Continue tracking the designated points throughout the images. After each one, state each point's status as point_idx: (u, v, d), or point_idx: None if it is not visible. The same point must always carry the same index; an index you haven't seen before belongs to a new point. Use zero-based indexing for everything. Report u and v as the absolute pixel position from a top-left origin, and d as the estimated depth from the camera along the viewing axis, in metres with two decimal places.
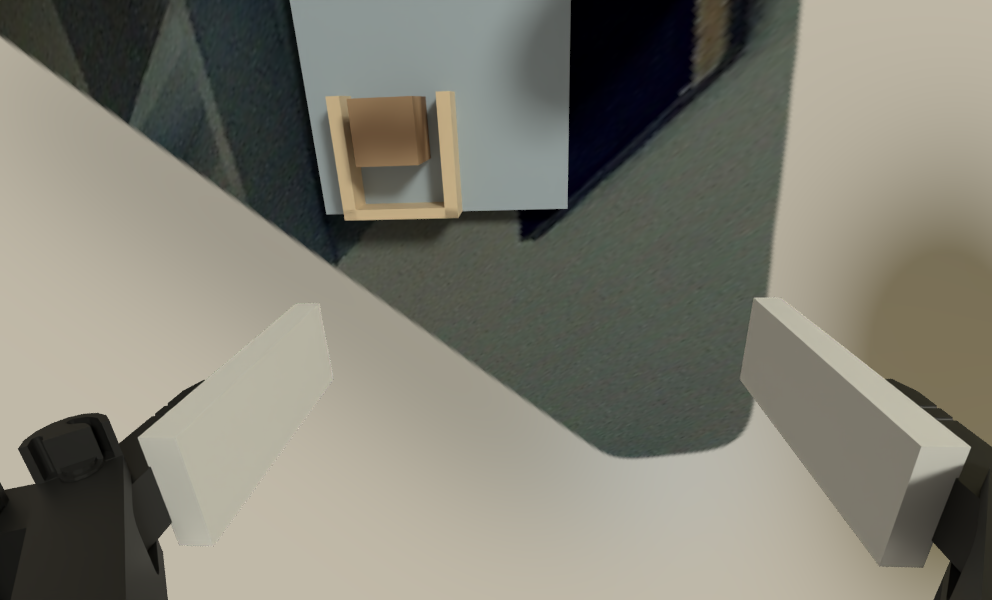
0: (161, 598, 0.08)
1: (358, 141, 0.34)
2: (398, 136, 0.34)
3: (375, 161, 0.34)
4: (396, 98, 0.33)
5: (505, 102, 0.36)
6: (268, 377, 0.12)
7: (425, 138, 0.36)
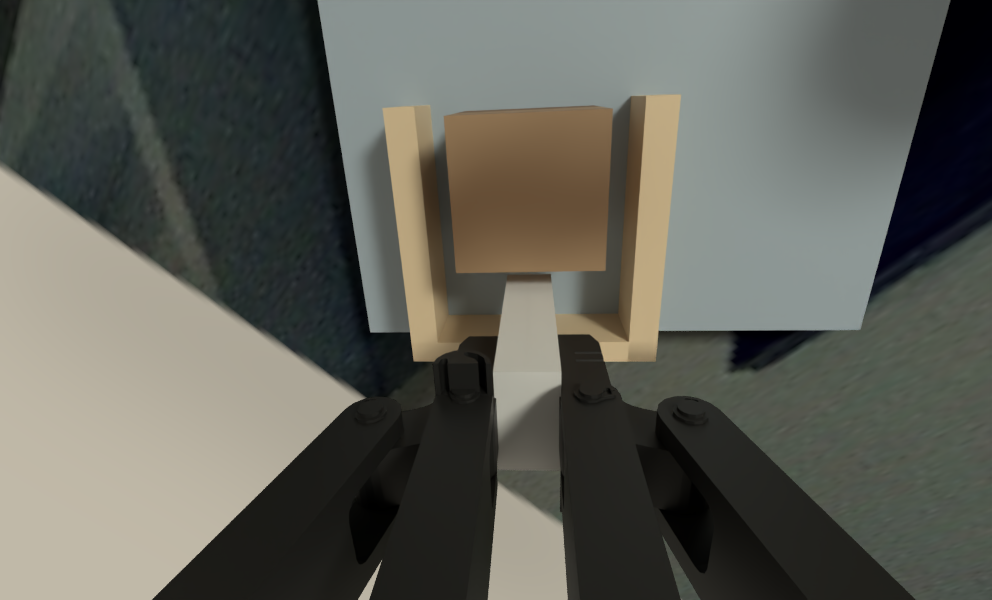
0: (491, 530, 0.09)
1: (466, 216, 0.14)
2: (565, 205, 0.14)
3: (502, 262, 0.15)
4: (572, 115, 0.13)
5: (772, 118, 0.17)
6: None
7: None
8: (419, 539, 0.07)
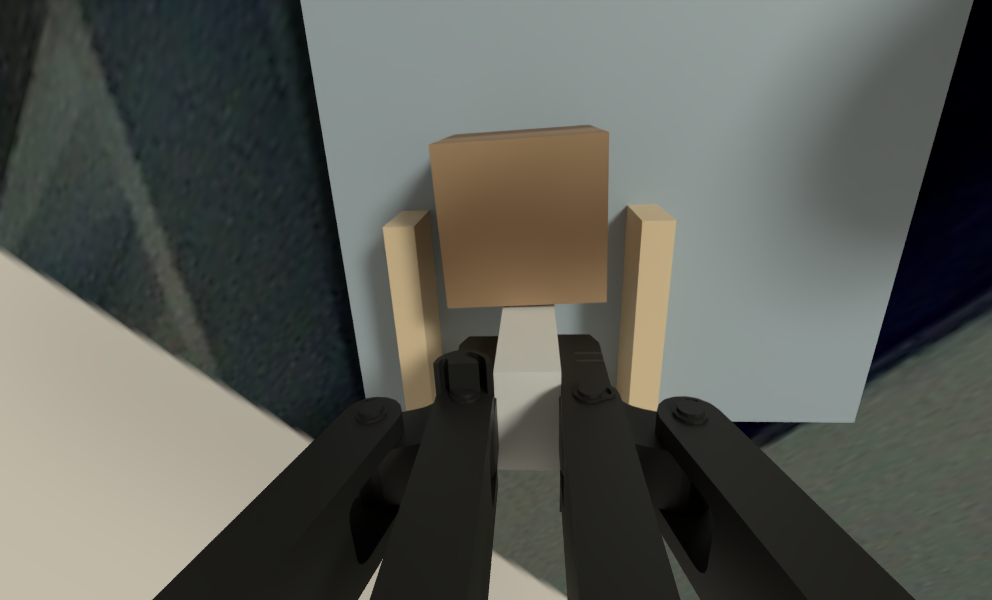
0: (491, 531, 0.09)
1: (456, 249, 0.13)
2: (561, 234, 0.13)
3: (496, 296, 0.14)
4: (566, 140, 0.12)
5: (765, 227, 0.17)
6: None
7: None
8: (419, 539, 0.07)
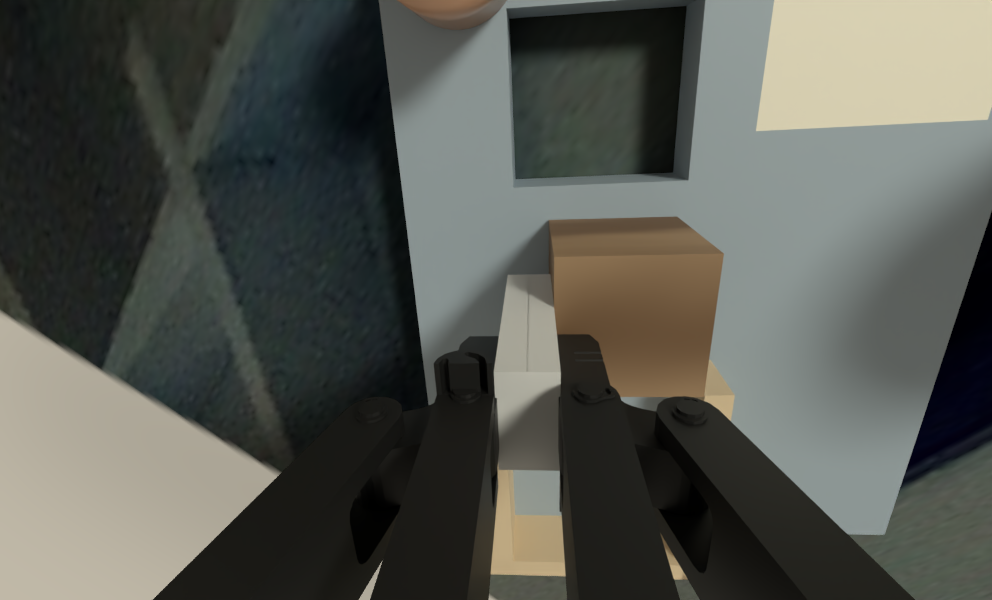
0: (491, 531, 0.09)
1: None
2: (668, 338, 0.14)
3: None
4: (683, 258, 0.13)
5: (807, 379, 0.19)
6: None
7: None
8: (420, 539, 0.07)
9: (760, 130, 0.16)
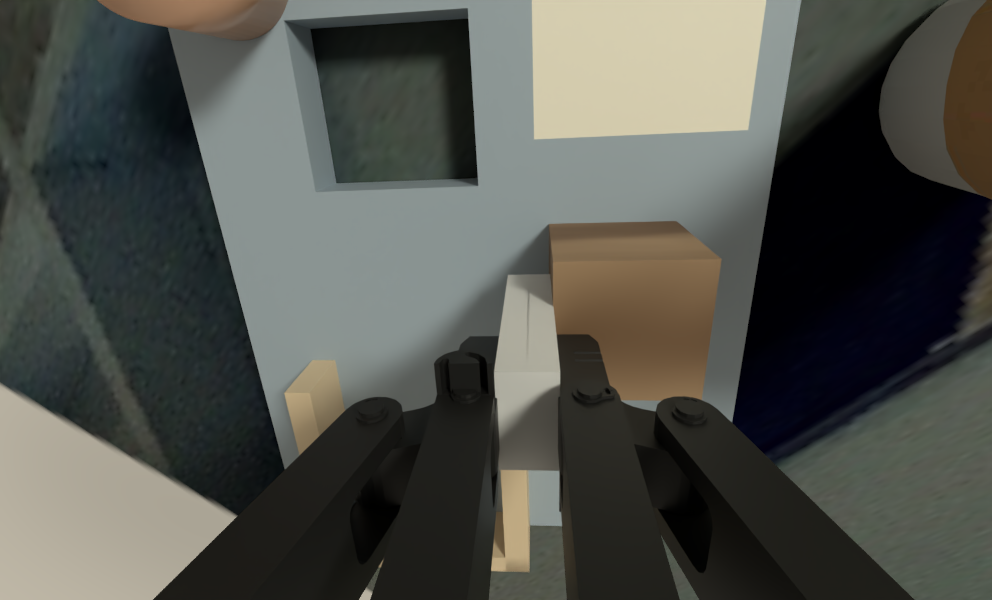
0: (492, 531, 0.09)
1: None
2: (666, 342, 0.14)
3: None
4: (681, 264, 0.13)
5: None
6: None
7: None
8: (420, 539, 0.07)
9: (538, 138, 0.17)
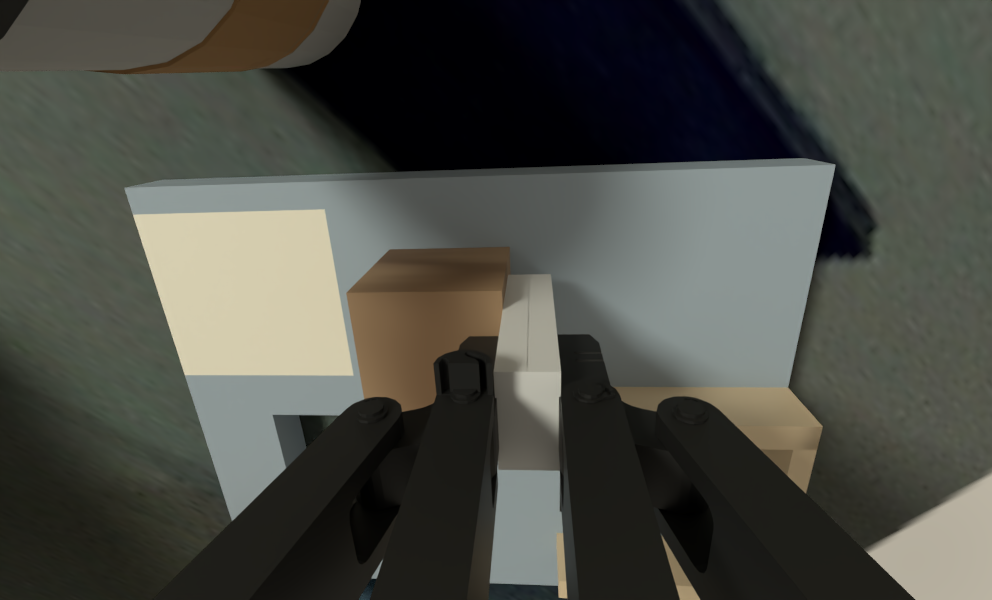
0: (491, 531, 0.09)
1: None
2: (435, 330, 0.14)
3: None
4: (355, 326, 0.14)
5: (582, 300, 0.18)
6: None
7: (461, 258, 0.17)
8: (420, 539, 0.07)
9: (352, 372, 0.20)
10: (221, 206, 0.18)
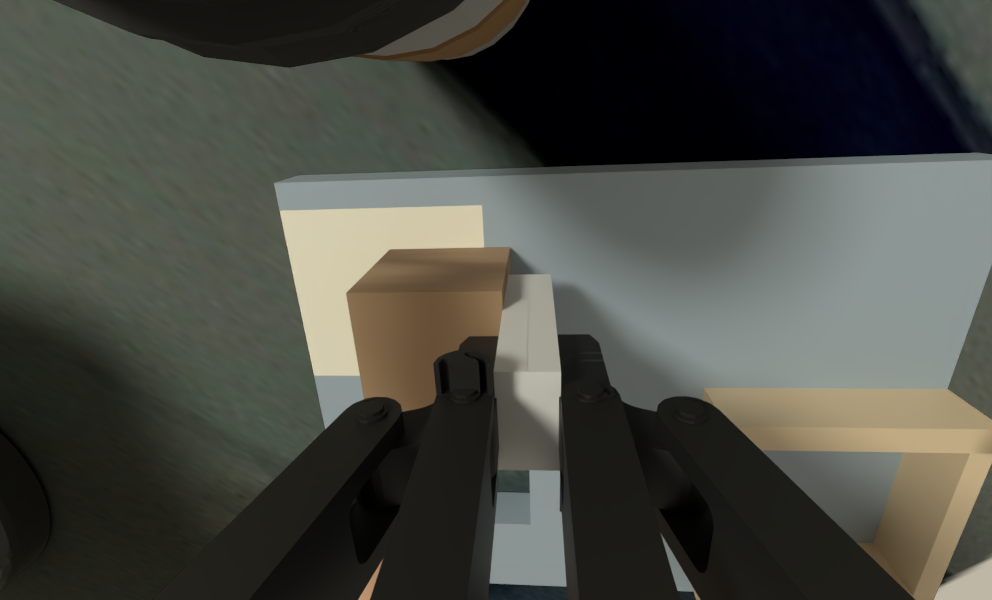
0: (491, 531, 0.09)
1: None
2: (435, 330, 0.14)
3: None
4: (355, 326, 0.14)
5: (741, 299, 0.18)
6: None
7: (461, 258, 0.17)
8: (419, 539, 0.07)
9: None
10: (373, 202, 0.18)
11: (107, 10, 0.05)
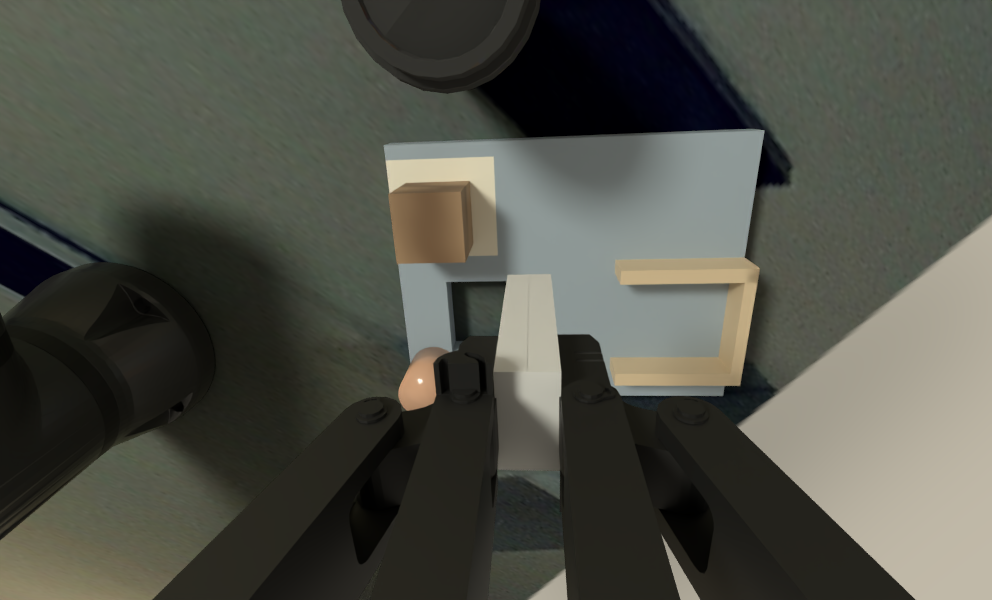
0: (491, 531, 0.09)
1: (438, 256, 0.31)
2: (430, 212, 0.30)
3: (459, 240, 0.31)
4: (392, 211, 0.30)
5: (631, 207, 0.34)
6: None
7: (443, 184, 0.33)
8: (419, 539, 0.07)
9: (497, 253, 0.36)
10: (436, 155, 0.33)
11: (414, 81, 0.21)
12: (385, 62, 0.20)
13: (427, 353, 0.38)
